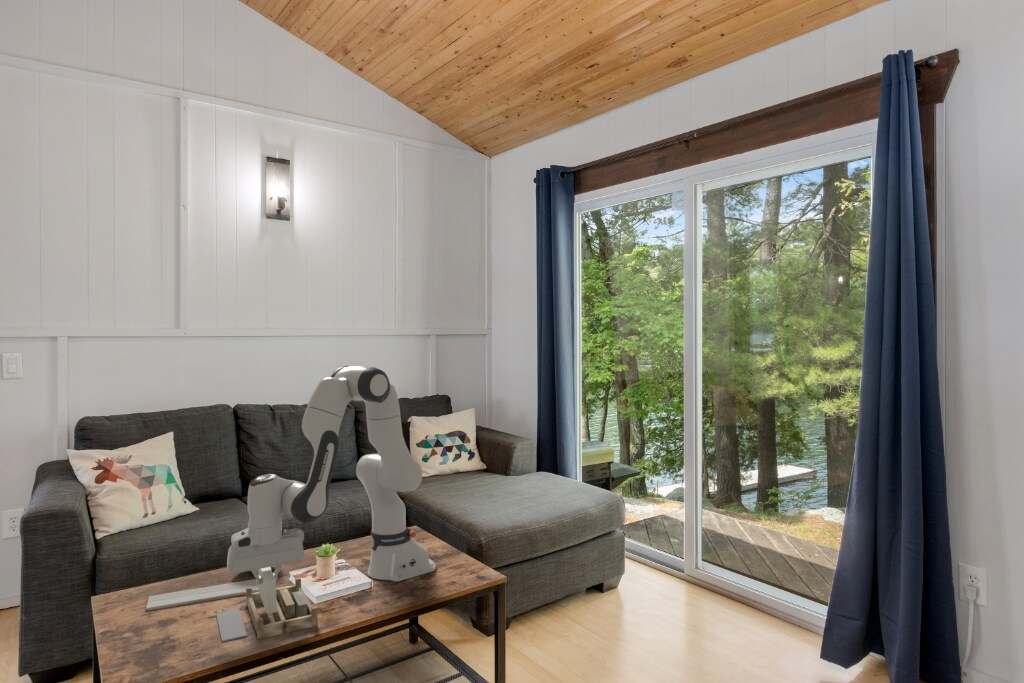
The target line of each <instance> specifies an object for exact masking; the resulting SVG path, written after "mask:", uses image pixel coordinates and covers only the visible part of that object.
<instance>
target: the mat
mask: <svg viewBox="0 0 1024 683" xmlns="http://www.w3.org/2000/svg"><path fill="white" fill-rule="evenodd" d="M242 617H243V616H242V615H241V610H240V608H237V609H232V610H231V609H230V610H227V611H226V610H225V611H221V612H216V620H217V624H218V629H219V635H220V639H221V642H222V643H224V642H228V641H234V640H237V639H238V640H239V639H242V638H246V637H248V634H247V631H246V627H245V624H244V621H243V618H242Z"/></svg>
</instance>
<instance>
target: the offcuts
mask: <svg viewBox="0 0 1024 683" xmlns="http://www.w3.org/2000/svg"><path fill="white" fill-rule="evenodd" d="M278 600H279V601H278V603H279V605H280V606H281V610H282V611H283V613H284V616H285V619H286V618H287V619H288V618H289V619H290V618H293V617H296V618H298V617H303V616H307V603H306V601H305V599H304V597H303V596H302V594H301V592H300V591H297V592H292V597H291V596H290V594H289V592H288V590H287V589H283V590H279V599H278Z"/></svg>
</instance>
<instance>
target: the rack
mask: <svg viewBox="0 0 1024 683" xmlns="http://www.w3.org/2000/svg"><path fill="white" fill-rule="evenodd" d="M283 589H287V590H288V592H289V594H290V596H291V598H292V592H297V591H300V592H301V594H302V596H303V597H304V599H305V601H306V603H307V616H303V617H298V618H297V617H295V618H293V617H292V618H289V619H286V617H285V614H283V613H284V612H282V611H283V610H282V608H281V607H280V606H281V605H280V603H279V601H278V600H279V590H283ZM245 598H246V601H245V603H246V604H245V605H246V606H247V608H248V611H249V614H250V617H251V620H252V623H253V626H254V629H255V632H256V639H257V640H262V639H265V638H269V637H273V636H274V637H275V636H278V635H283V634H287V633H291V632H297V631H300V630H304V629H309V628H314V627H318V626H319V622H318V621H319V618H318V617H319V616H318V613H319V610H318V609H319V607H318V606H317V605H315V606H312V604H311V602H310V600H309V599H308V596H307V595H306V593H305V591H304V589H303V587H302V578H301V577H300V576H299V577H296V578H295V584H293V585H287V586H283V587H276V598H277V612H275V613H273V614H274V617H275V619H276V622H271V623H268V624H264V618H263V617H260V616H259V614H258V610H257V607H256V604H263V602H262V599H261V596H260V594H259V592H256V593H252V587H246V594H245Z"/></svg>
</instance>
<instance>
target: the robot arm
mask: <svg viewBox="0 0 1024 683" xmlns="http://www.w3.org/2000/svg"><path fill="white" fill-rule="evenodd" d="M352 401H356V402H362V401H363V402H364V406H365V415H366V428H367V438H368V441H369V443H370V444H371V445H372V446H373V447H374V449H375V450H376V452H377V453H369V454H365V455H362V456H361V457H360V458H359V460H358V462H357V463H356V466H355V474H356V477H357V479H358V480H359V481H360V483H361V484H362V485H363V487H364V489H365V491H366V495H367V496H368V497H367V498H368V500H369V503H370V509H371V510H370V511H371V531H370V549H371V551H370V552H371V553H370V560H369V566H368V570H367V575H368V576H369V577H370V578H372V579H374V580H375V579H376V580H381V581H391V582H397V583H398V582H402V581H406V580H408V579H411V578H414V577H418V576H422V575H424V574H429V573H431V572H434V571H436V569H437V568H436V563H435V562H434V561H433V560H432V559H431V558H429V554H428V553H429V552H428V551H427V549H426V548H425V546H424V545H422V544H421V543H419V542H418V541H416V540H415V539H413V538H415V537H416V536H417V532H416V531H415V530H413V529H410V528H409V527H407V525H406V524H407V520H406V518H407V516H406V515H407V512H406V511H407V510H406V508H407V507H406V504H405V503H404V501H403V500H402V499H401V498H400V496H399V495H398V492H400V493H401V492H412V491H414V490H416V489H417V488H418V487H419V486H420V484H421V483H422V479H423V470H422V466H421V465H420V463H419V462H418V461H416V460H415V459H414V457H413V455H412V454H411V453H410V450H409V448H408V446H407V444H406V440H405V437H404V434H403V426H402V418H401V408H400V402H399V398H398V393H397V391H396V387H395V386H394V385H393V384H391V383H390V380H389V377H388V375H387V373H386V372H385V371H384V370H383V369H380V368H378V367H370V366H365V365H353V366H351V365H343V366H340V367H339V368H337V369H335V370H334V371H333V372H332V374H331V375H330V376H328V377H324V378H322V379H321V380H320V381H319V383H318V384H317V386H316V387H315V389H314V391H313V393H312V394H311V396H310V399H309V401H308V403H307V406H306V408H305V411H304V413H303V417H302V423H301V430H302V433H303V434H304V436H305V438H306V439H307V440H308V441H309V443H310V444H311V445H312V448H313V460H312V463H311V466H310V470H309V475H308V479H307V481H306V483H304V482H302V481H298V480H292V479H286V478H283V477H280V476H278V475H277V474H274V473H267V474H262V475H259V476H257V477H255V478H254V479H252V480H251V481H250V483H249V486H248V490H247V512H248V514H249V515H248V516H249V520H248V523H247V528H244V529H242V530H240V531H238V532H235V533H233V534H232V535H231V537H230V539H231V540H230V542H231V545H230V546H229V548H228V551H227V558H226V568H227V569H226V571H227V572H228V573H229V574H230V575H235V574H240V573H246V572H251V573H252V574H253V576H254V578H255V579H256V582H257V585H258V584H262V583H263V581H262V580H263V578H262V576H258V569H261V568H266V567H270V568H272V567H275V569H274V572H273V574H274V576H275V578H276V582H278V575H279V573H280V571H281V570H282V565H286V564H292V563H296V562H297V563H298V562H301V561H303V559H304V557H305V551H304V546H303V545H304V544H303V542H304V539H305V533H304V531H303V530H302V529H299V528H297V527H296V528H291V529H283V521H282V520H283V517H285V516H289V517H292V518H294V519H295V520H297V521H299V522H301V523H303V524H305V525H306V524H312V523H317V521H319V520H320V519H321V518H322V517H323V516H324V515H325V513H326V512H327V509H328V506H329V496H330V495H329V492H330V485H331V481H332V477H333V472H334V468H335V464H336V460H337V456H338V453H339V452H338V451H339V446H340V439H339V433H340V428H341V423H342V421H343V418H344V416H345V413H346V408H347V406H348V404H349V403H350V402H352ZM251 570H252V571H251Z"/></svg>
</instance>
